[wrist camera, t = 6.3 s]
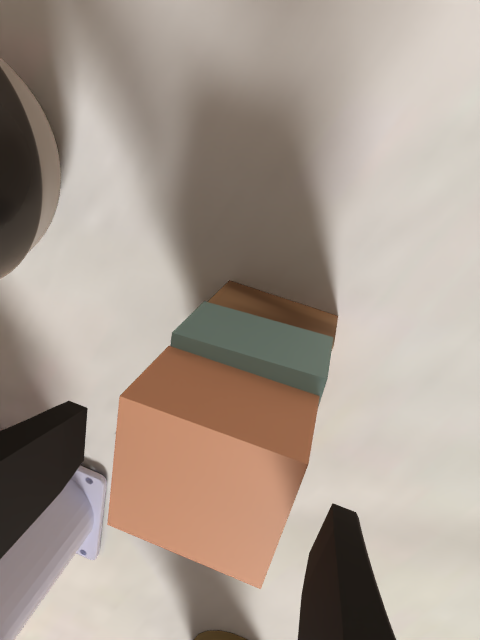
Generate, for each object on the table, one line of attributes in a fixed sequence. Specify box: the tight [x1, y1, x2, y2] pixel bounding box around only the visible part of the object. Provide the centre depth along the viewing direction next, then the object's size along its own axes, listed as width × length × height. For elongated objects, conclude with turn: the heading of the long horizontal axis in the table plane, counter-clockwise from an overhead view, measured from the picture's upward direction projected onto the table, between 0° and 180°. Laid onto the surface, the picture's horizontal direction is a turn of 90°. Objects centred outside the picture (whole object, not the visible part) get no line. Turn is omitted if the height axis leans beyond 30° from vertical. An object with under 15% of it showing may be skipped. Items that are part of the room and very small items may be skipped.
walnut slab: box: [208, 280, 338, 351], centre depth 18 cm, size 5×5×3 cm
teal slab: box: [171, 301, 333, 406], centre depth 15 cm, size 5×5×3 cm
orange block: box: [107, 346, 320, 589], centre depth 12 cm, size 5×5×3 cm
